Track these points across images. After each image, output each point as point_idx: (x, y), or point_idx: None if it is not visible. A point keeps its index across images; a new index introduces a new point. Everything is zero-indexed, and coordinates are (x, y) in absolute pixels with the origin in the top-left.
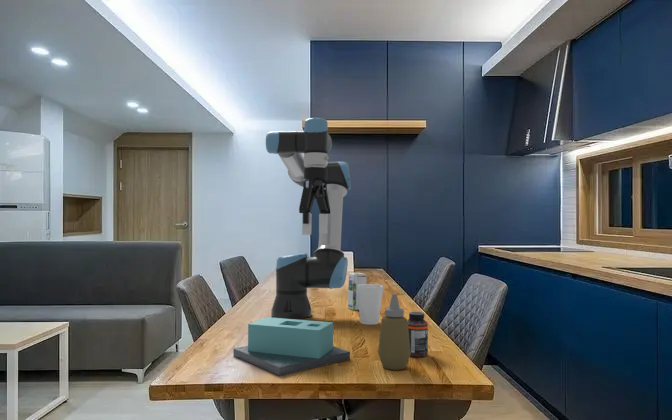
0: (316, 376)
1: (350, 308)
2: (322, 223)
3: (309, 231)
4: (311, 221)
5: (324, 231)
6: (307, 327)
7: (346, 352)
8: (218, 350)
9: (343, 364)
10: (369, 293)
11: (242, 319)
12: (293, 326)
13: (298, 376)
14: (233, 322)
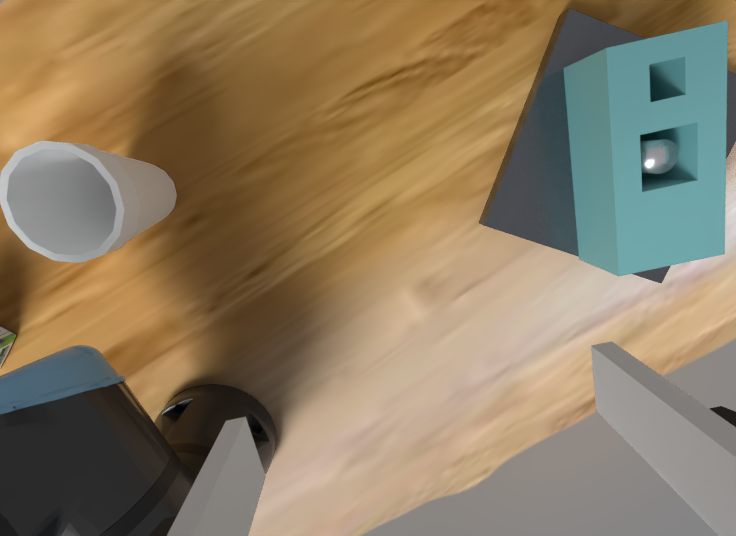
0: (718, 11)
1: (6, 354)
2: (229, 526)
3: (630, 363)
4: (680, 413)
5: (246, 446)
6: (704, 77)
7: (581, 13)
8: (622, 336)
9: (606, 6)
10: (126, 175)
11: (339, 499)
12: (706, 123)
13: (732, 49)
14: (380, 493)
